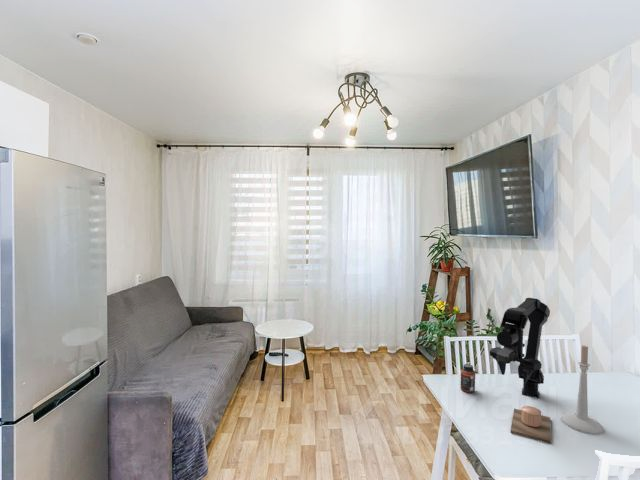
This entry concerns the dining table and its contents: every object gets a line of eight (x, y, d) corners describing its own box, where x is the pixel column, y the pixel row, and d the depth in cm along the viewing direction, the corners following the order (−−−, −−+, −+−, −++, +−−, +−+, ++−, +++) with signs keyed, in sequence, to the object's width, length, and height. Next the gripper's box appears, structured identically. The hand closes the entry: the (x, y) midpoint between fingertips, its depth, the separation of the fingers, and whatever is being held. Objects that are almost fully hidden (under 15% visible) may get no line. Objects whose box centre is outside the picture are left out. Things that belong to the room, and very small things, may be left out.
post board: (514, 410, 142) (514, 397, 142) (549, 419, 136) (550, 405, 136) (510, 432, 127) (510, 417, 127) (550, 443, 121) (551, 427, 121)
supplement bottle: (476, 394, 157) (476, 368, 156) (461, 392, 158) (462, 367, 157) (473, 387, 163) (473, 363, 162) (459, 386, 164) (459, 362, 163)
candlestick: (568, 430, 129) (572, 348, 128) (555, 413, 141) (558, 338, 140) (610, 436, 125) (614, 352, 124) (593, 418, 138) (596, 341, 137)
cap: (521, 415, 136) (522, 404, 136) (540, 420, 133) (541, 408, 132) (520, 423, 131) (521, 411, 130) (540, 428, 127) (541, 416, 127)
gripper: (481, 337, 148) (480, 374, 149) (525, 351, 132) (524, 393, 133) (498, 333, 154) (497, 369, 154) (542, 346, 137) (541, 386, 138)
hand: (513, 378), depth 145 cm, fingers open, 9 cm apart
